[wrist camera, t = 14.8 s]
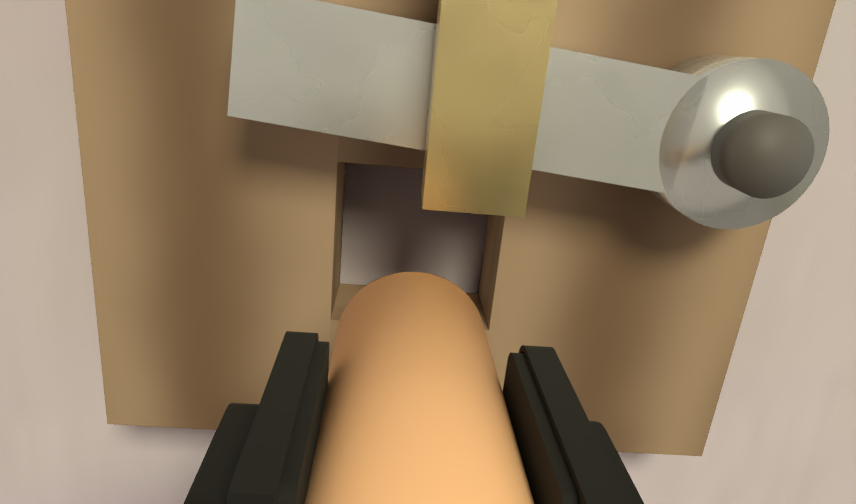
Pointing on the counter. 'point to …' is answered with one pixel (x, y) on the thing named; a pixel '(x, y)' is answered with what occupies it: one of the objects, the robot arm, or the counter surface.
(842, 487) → the counter surface
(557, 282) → the base plate
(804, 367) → the counter surface
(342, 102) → the latch bar
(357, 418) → the lock pin
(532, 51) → the keeper
